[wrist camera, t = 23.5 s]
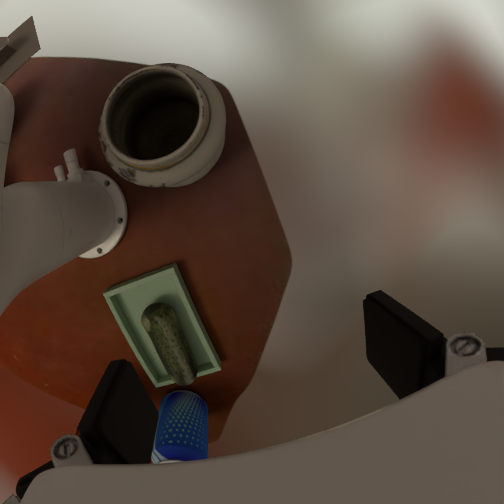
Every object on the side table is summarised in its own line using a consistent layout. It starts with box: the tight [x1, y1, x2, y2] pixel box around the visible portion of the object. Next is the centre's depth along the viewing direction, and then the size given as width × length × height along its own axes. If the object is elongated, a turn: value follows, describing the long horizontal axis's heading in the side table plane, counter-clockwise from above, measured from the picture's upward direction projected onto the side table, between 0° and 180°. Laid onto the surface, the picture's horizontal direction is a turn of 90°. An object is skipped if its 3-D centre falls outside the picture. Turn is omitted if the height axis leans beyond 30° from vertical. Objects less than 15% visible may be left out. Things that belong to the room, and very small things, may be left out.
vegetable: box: [141, 302, 198, 385], centre depth 39 cm, size 14×5×5 cm
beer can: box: [151, 390, 208, 464], centre depth 37 cm, size 8×8×16 cm
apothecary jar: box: [99, 63, 226, 187], centre depth 27 cm, size 12×12×18 cm
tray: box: [103, 263, 221, 387], centre depth 40 cm, size 18×12×2 cm, turn 19°
